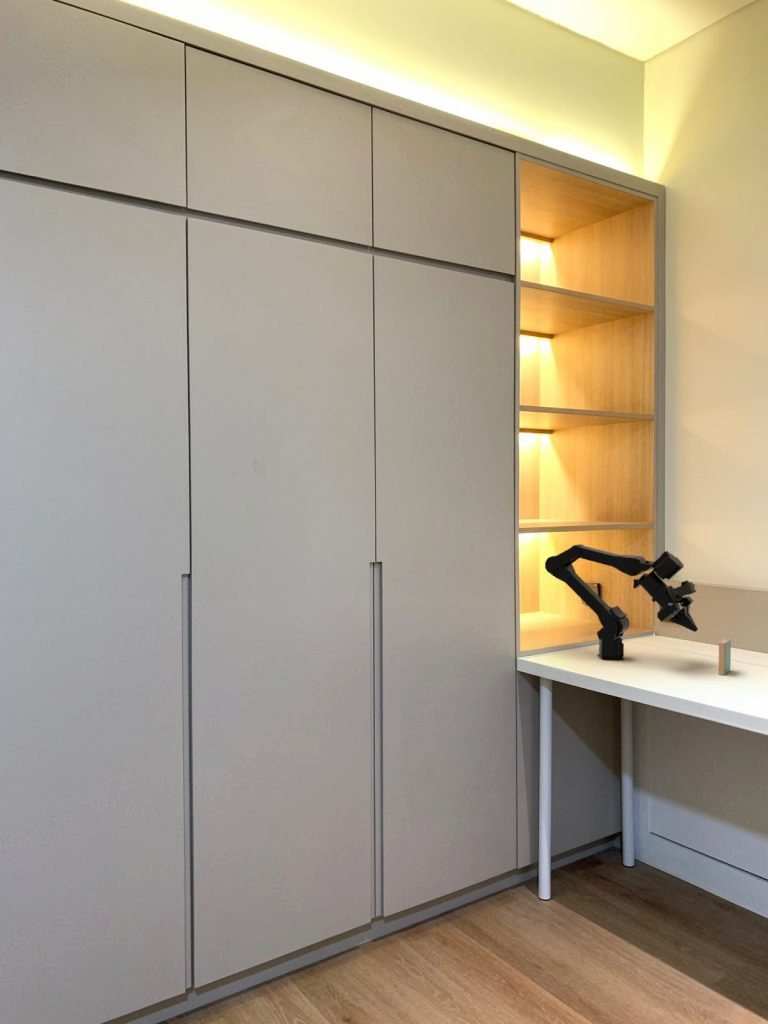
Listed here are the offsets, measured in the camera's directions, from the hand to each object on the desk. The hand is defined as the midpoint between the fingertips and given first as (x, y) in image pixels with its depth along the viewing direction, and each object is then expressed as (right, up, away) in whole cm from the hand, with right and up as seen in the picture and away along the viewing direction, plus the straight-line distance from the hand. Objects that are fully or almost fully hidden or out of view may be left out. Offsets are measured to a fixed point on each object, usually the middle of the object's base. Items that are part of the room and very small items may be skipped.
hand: (696, 630), depth 224 cm
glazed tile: (+6, -11, -4) cm, 14 cm away
